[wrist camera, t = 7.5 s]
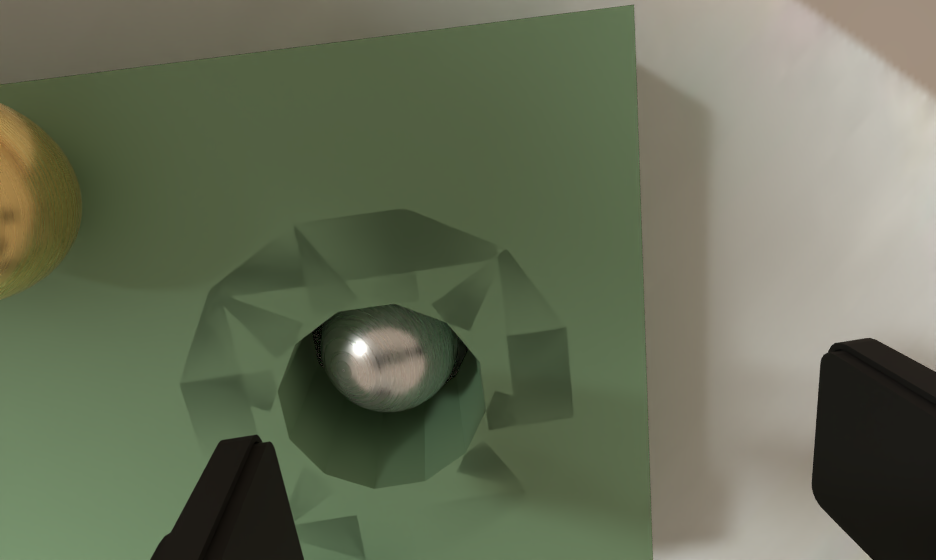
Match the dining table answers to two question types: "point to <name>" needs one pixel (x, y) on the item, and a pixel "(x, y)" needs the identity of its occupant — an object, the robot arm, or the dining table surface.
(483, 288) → the board
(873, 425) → the robot arm
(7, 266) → the brass ball
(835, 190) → the dining table surface
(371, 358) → the steel ball
